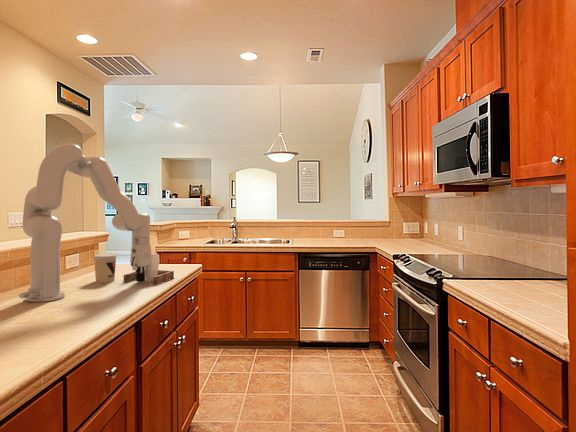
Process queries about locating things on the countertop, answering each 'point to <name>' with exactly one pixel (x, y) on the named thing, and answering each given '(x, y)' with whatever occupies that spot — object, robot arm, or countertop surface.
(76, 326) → the countertop surface
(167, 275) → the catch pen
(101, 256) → the coffee cup
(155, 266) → the cup
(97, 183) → the robot arm
